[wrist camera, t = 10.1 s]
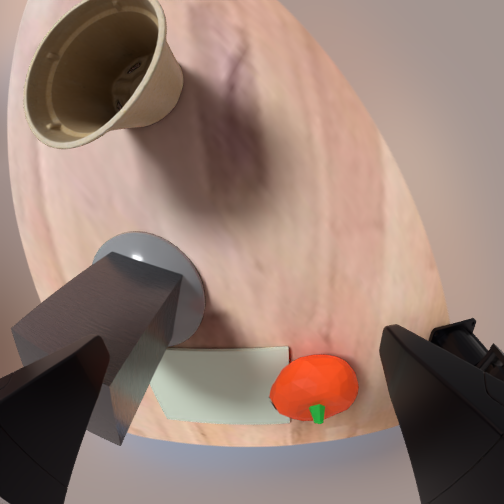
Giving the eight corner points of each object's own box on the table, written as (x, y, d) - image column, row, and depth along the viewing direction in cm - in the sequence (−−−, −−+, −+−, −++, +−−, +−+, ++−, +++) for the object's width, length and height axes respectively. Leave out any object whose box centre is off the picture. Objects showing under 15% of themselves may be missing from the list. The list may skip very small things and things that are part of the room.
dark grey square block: (182, 274, 20) (109, 386, 9) (172, 337, 23) (120, 446, 11) (112, 251, 20) (11, 328, 9) (109, 313, 22) (38, 400, 11)
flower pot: (233, 69, 16) (208, 11, 8) (156, 171, 19) (87, 184, 10) (144, 24, 14) (90, -22, 6) (80, 115, 17) (6, 109, 9)
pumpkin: (335, 388, 25) (347, 438, 20) (262, 385, 25) (264, 441, 19) (363, 343, 22) (385, 398, 16) (280, 337, 22) (287, 401, 16)
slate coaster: (193, 224, 20) (190, 226, 19) (215, 344, 23) (214, 348, 23) (81, 238, 21) (77, 240, 20) (114, 340, 24) (111, 343, 24)
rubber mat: (288, 346, 23) (288, 348, 23) (289, 420, 27) (289, 423, 26) (135, 345, 24) (134, 348, 24) (168, 416, 28) (167, 418, 28)
